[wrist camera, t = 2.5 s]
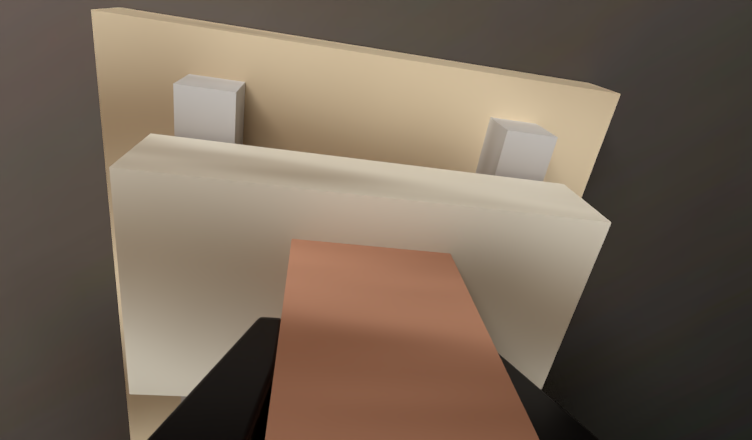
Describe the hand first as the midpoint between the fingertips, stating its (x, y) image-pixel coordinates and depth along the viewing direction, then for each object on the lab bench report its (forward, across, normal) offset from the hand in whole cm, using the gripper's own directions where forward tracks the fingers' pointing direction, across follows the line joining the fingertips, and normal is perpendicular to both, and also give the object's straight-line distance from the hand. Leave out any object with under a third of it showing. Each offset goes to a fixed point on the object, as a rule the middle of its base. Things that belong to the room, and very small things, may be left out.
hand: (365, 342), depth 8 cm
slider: (+3, 0, 0) cm, 3 cm away
